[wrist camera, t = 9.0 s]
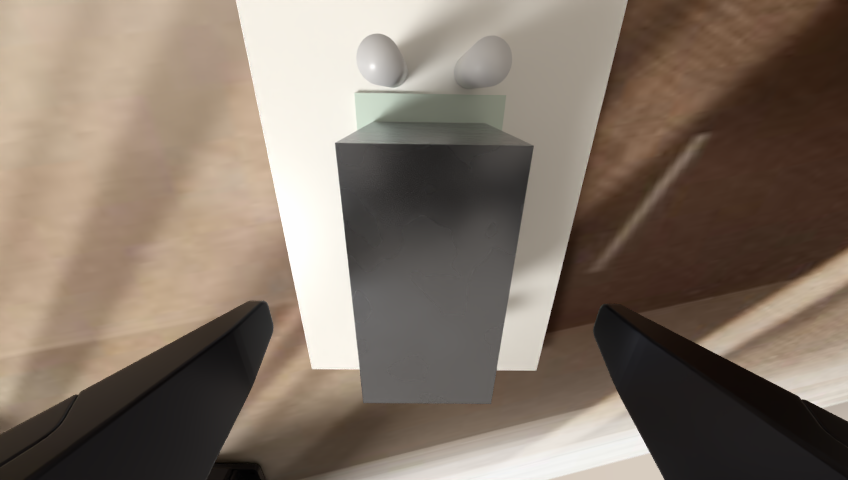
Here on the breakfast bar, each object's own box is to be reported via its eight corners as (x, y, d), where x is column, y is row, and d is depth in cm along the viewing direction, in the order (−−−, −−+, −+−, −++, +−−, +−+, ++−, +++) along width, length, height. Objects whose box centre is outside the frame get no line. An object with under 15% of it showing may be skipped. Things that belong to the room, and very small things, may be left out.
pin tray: (528, 352, 20) (562, 435, 15) (319, 350, 20) (285, 434, 15) (615, -34, 12) (758, -130, 7) (247, -41, 11) (113, -145, 6)
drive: (468, 301, 16) (490, 403, 11) (382, 300, 16) (363, 403, 11) (485, 123, 12) (533, 145, 7) (373, 121, 12) (335, 142, 7)
